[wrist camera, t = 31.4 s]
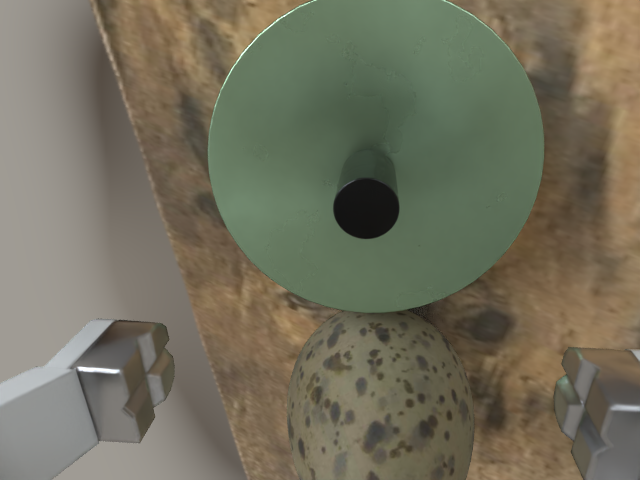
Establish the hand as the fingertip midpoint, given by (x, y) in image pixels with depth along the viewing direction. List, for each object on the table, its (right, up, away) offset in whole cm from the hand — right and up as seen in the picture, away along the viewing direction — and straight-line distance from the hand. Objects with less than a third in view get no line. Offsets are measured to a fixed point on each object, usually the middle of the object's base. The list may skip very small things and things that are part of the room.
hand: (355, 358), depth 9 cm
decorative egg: (+3, -4, +23) cm, 24 cm away
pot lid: (+1, +6, +11) cm, 12 cm away
